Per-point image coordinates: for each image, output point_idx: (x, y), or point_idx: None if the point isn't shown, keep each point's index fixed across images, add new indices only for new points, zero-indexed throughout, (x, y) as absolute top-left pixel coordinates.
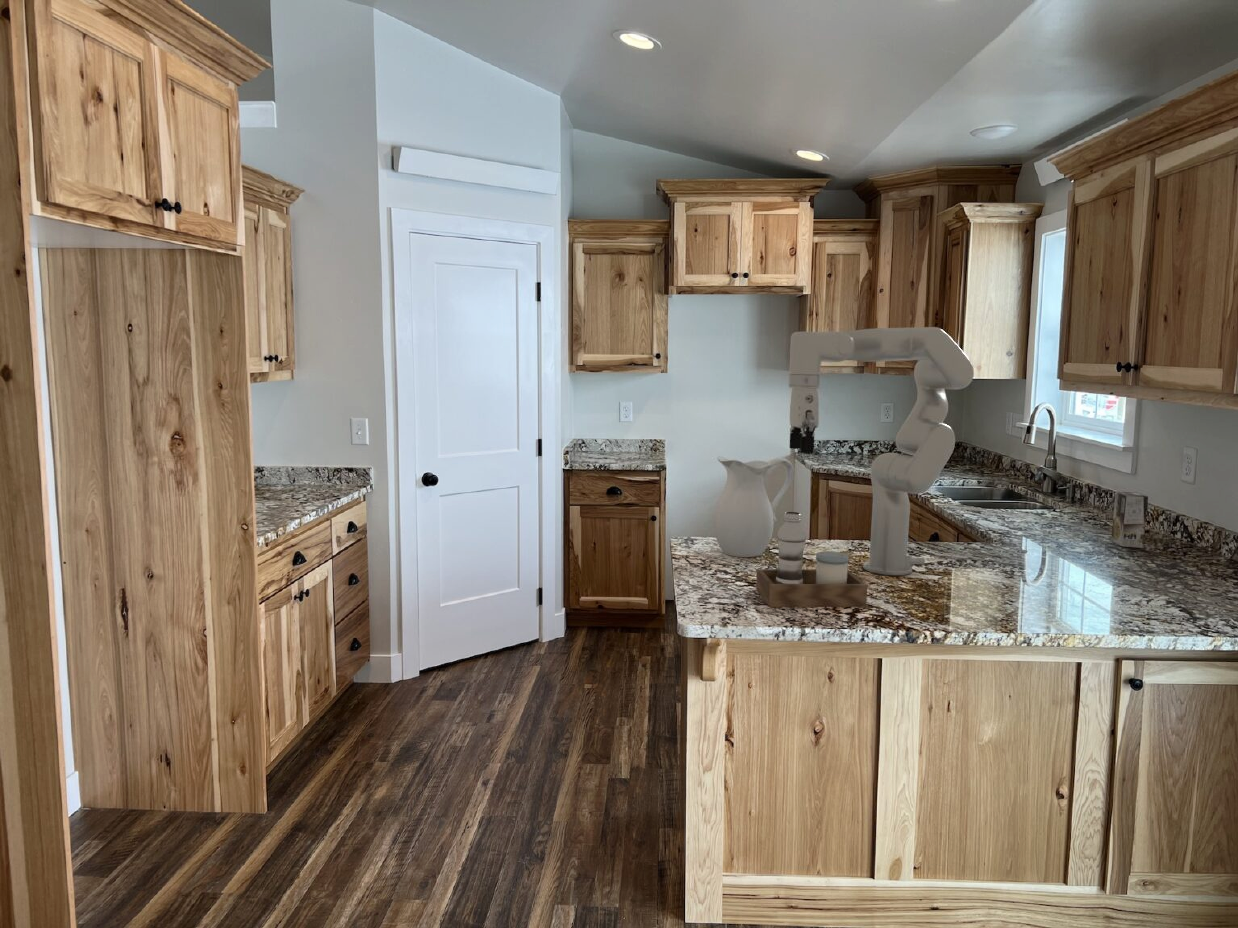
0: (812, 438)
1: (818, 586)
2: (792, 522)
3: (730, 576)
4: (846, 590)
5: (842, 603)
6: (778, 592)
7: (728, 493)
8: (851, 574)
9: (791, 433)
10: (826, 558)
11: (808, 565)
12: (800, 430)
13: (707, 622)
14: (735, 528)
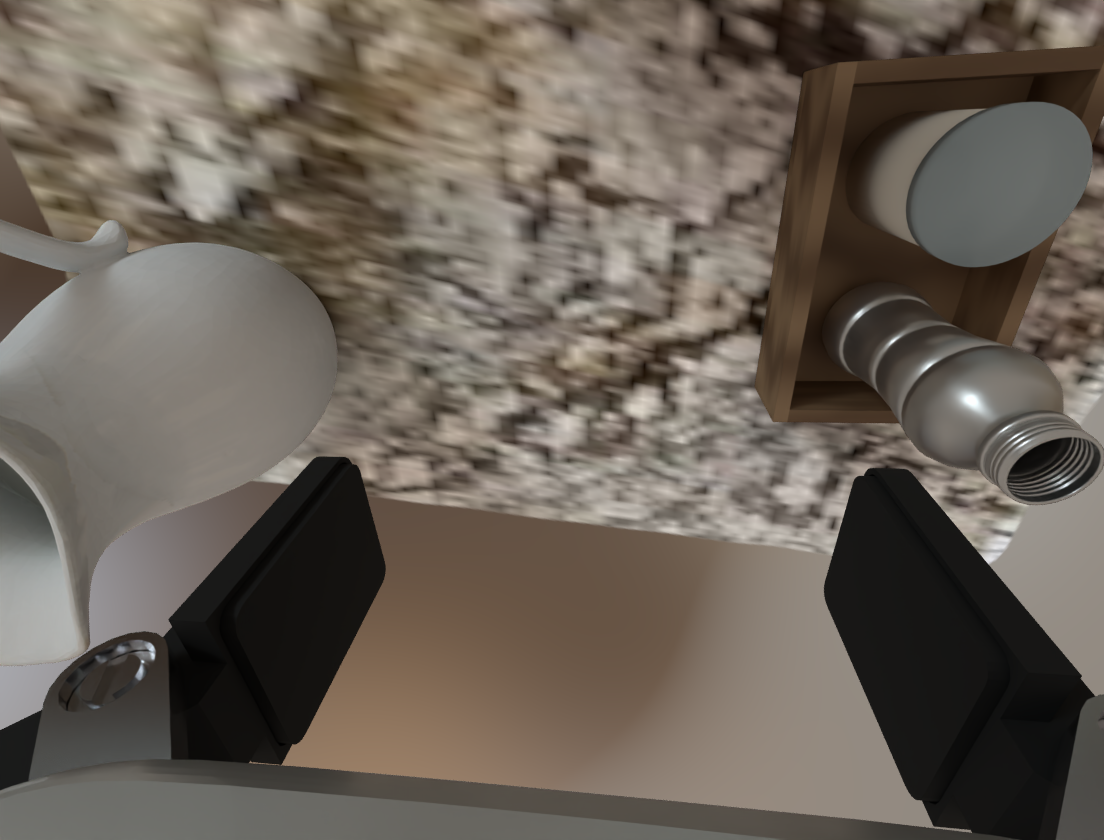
0: (1036, 669)
1: (1038, 268)
2: (1057, 453)
3: (568, 415)
4: None
5: None
6: None
7: (186, 505)
8: (934, 68)
9: (284, 749)
10: (1044, 238)
11: (398, 117)
12: (179, 703)
13: (970, 536)
14: (316, 414)
